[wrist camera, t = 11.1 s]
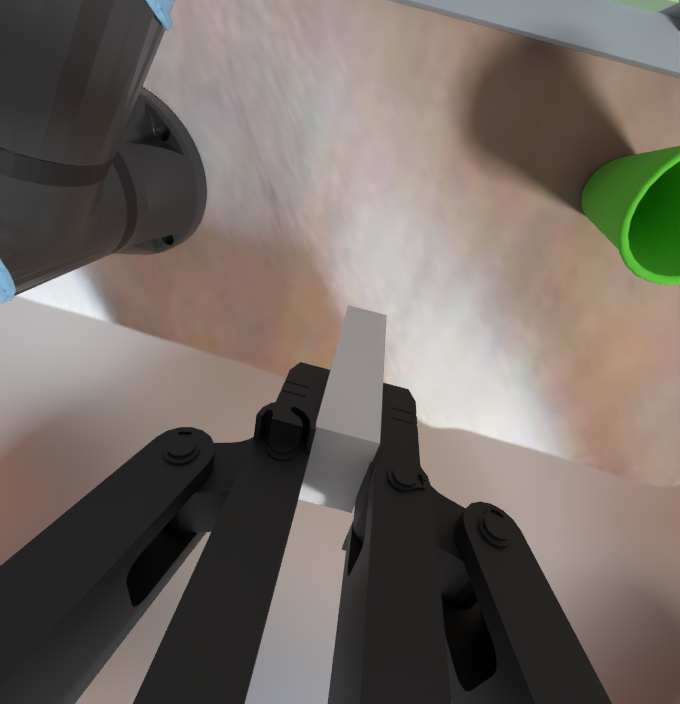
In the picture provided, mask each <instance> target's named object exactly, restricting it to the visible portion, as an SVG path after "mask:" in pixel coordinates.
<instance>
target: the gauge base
mask: <svg viewBox="0 0 680 704" xmlns="http://www.w3.org/2000/svg"><path fill="white" fill-rule="evenodd" d="M391 1H394V2H398V3H402V4H406V5H409V6H413V7H417V8H420V9H424V10H428V11H432V12H435V13H439V14H443V15H447V16H450V17H454V18H458V19H461V20H465V21H469V22H473V23H476V24H480V25H484V26H488V27H491V28H495V29H499V30H502V31H506V32H510V33H514V34H517V35H521V36H525V37H529V38H532V39H536V40H540V41H543V42H547V43H551V44H555V45H558V46H562V47H566V48H570V49H573V50H577V51H581V52H584V53H588V54H592V55H596V56H599V57H603V58H607V59H611V60H614V61H618V62H622V63H625V64H629V65H633V66H637V67H640V68H644V69H648V70H652V71H655V72H659V73H663V74H666V75H670V76H674V77H678V78H680V0H391Z"/></svg>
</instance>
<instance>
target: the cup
mask: <svg viewBox="0 0 680 704" xmlns="http://www.w3.org/2000/svg"><path fill="white" fill-rule="evenodd" d="M581 205H582V210H583V212H584V214H585V215H586V216H587V217H588V218H589V219H590V220H591V221H592V222H593V223H594V225H595V226H596V227H597V228H598V229H599V230H600V231H601V232H602V233H603V234H604V235H605V236H606V237H607V238H608V239H609V240H610V241H611V242H612V243H613V244H614V245H615V246H616V247H617V248H618V249H619V252H620V255H621V257H622V259H623V261H624V263H625V265H626V266H627V267H628V268H629V269H630V270H631V271H632V272H633V273H634V274H635V275H636V276H638V277H640V278H643V279H645V280H647V281H649V282H654V283H659V284H665V285H666V284H680V146H677V147H672V148H667V149H662V150H657V151H652V152H647V153H642V154H637V155H632V156H627V157H621V158H618V159H615V160H612V161H610V162H608V163H606V164H605V165H603V166H602V167H601V168H599V169H598V170H597V171H596V172H595V173H594V174H593V175H592V176H591V177H590V179H589V180H588V182H587V183H586V185H585V187H584V190H583V193H582V198H581Z"/></svg>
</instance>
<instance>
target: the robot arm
mask: <svg viewBox="0 0 680 704" xmlns="http://www.w3.org/2000/svg"><path fill="white" fill-rule="evenodd" d="M173 3H174V0H0V304H2V303H5V302H8V301H11V300H12V298H14V296H15V295H18V294H20V293H22V292H25V291H27V290H29V289H32V288H34V287H36V286H38V285H41V284H43V283H45V282H48V281H50V280H52V279H55V278H57V277H59V276H62V275H64V274H66V273H68V272H71V271H73V270H75V269H78V268H80V267H82V266H85V265H87V264H89V263H91V262H94V261H96V260H98V259H101V258H103V257H105V256H107V255H110V254H112V253H113V254H141V255H148V254H156V253H160V252H164V251H167V250H169V249H171V248H173V247H175V246H177V245H179V244H181V243H183V242H184V241H186V240H187V239H188V238H189V237H190V236H191V235H192V234H193V233H194V232H195V230H196V229H197V227H198V226H199V224H200V222H201V220H202V217H203V214H204V211H205V206H206V197H207V186H206V178H205V172H204V168H203V164H202V161H201V158H200V155H199V152H198V150H197V148H196V145H195V143H194V141H193V139H192V138H191V136H190V134H189V132H188V131H187V129H186V128H185V126H184V125H183V123H182V122H181V121H180V120H179V118H178V117H177V116H176V115H175V114H174V112H173V111H172V110H171V109H170V108H169V107H168V106H167V105H166V104H164V103H163V102H162V101H161V100H160V99H158V98H157V97H156V96H155V95H153V94H152V93H150V92H148V91H147V90H145V89H143V88H142V86H143V83H144V81H145V78H146V76H147V74H148V71H149V69H150V66H151V64H152V61H153V59H154V56H155V54H156V51H157V49H158V46H159V44H160V41H161V39H162V37H163V34H164V32H165V29H166V30H168V31H169V29H170V27H171V22H172V20H171V17H170V13H171V10H172V7H173ZM385 334H386V315H383V314H379V313H375V312H372V311H368V310H364V309H360V308H356V307H353V306H349V305H348V308H347V312H346V316H345V319H344V323H343V327H342V330H341V334H340V338H339V341H338V345H337V349H336V352H335V356H334V359H333V363H332V367H331V370H328V369H324V368H321V367H317V366H313V365H309V364H305V363H302V362H300V363H299V364H297V365H296V366H295V367H293V368H292V369H291V370H290V371H289V373H288V376H287V378H286V380H285V383H284V385H283V387H282V389H281V392H280V394H279V396H278V398H277V401H276V402H274V403H270V404H269V405H266V406H265V407H263V408H262V409H261V410H260V411H259V412H258V414H257V416H256V424H255V432H254V437H253V438H251V439H249V440H245V441H242V442H234V443H213V441H212V438H211V437H210V436H209V435H208V434H207V433H205V432H204V431H202V430H199V429H196V428H192V427H181V428H176V429H172V430H168V431H166V432H164V433H163V434H161V435H159V436H158V437H156V438H155V439H154V440H152V441H151V442H150V443H149V444H148V445H146V446H145V447H144V448H143V449H142V450H141V451H139V452H138V453H137V454H135V455H134V456H133V457H132V458H131V459H129V460H128V461H127V462H126V463H125V464H123V465H122V466H121V467H120V468H119V469H117V470H116V471H115V472H114V473H113V474H111V475H110V476H109V477H108V478H106V479H105V480H104V481H103V482H102V483H100V484H99V485H98V486H97V487H96V488H94V489H93V490H92V491H91V492H89V493H88V494H87V495H86V496H85V497H83V498H82V499H81V500H80V501H79V502H78V503H76V504H75V505H74V506H73V507H71V508H70V509H69V510H68V511H66V512H65V513H64V514H63V515H62V516H60V517H59V518H58V519H57V520H56V521H54V522H53V523H52V524H51V525H50V526H48V527H47V528H46V529H45V530H44V531H42V532H41V533H40V534H39V535H38V536H36V537H35V538H34V539H33V540H31V541H30V542H29V543H28V544H27V545H25V546H24V547H23V548H22V549H20V551H18V552H17V553H16V554H14V555H13V556H12V557H11V558H10V559H8V560H7V561H6V562H5V563H4V564H2V565H1V566H0V704H75V703H76V701H77V700H78V699H79V697H80V696H81V695H82V694H83V692H84V691H85V690H86V688H87V687H88V686H89V684H90V683H91V682H92V680H93V679H94V678H95V677H96V675H97V674H98V673H99V671H100V670H101V669H102V668H103V666H104V665H105V664H106V662H107V661H108V660H109V658H110V657H111V656H112V655H113V653H114V652H115V651H116V649H117V648H118V647H119V645H120V644H121V643H122V642H123V640H124V639H125V638H126V636H127V635H128V634H129V632H130V631H131V630H132V628H133V627H134V626H135V624H136V623H137V622H138V621H139V619H140V618H141V617H142V615H143V614H144V613H145V611H146V610H147V609H148V608H149V606H150V605H151V604H152V602H153V601H154V600H155V598H156V597H157V596H158V595H159V593H160V592H161V591H162V589H163V588H164V587H165V586H166V584H167V583H168V582H169V580H170V579H171V578H172V576H173V575H174V574H175V572H176V571H177V570H178V569H179V567H180V566H181V565H182V563H183V562H184V561H185V559H186V558H187V557H188V556H189V554H190V553H191V552H192V550H193V549H194V548H195V546H196V545H197V544H198V543H199V541H200V540H201V539H202V537H203V536H204V535H205V533H206V532H211V534H210V536H209V539H208V541H207V543H206V545H205V547H204V550H203V552H202V554H201V556H200V558H199V561H198V563H197V565H196V567H195V569H194V572H193V574H192V576H191V578H190V580H189V583H188V585H187V587H186V589H185V591H184V593H183V595H182V598H181V600H180V602H179V605H178V606H177V609H176V611H175V613H174V615H173V618H172V619H171V622H170V624H169V626H168V628H167V630H166V633H165V635H164V637H163V639H162V641H161V643H160V646H159V648H158V650H157V652H156V654H155V657H154V659H153V661H152V663H151V665H150V668H149V670H148V672H147V674H146V677H145V679H144V681H143V683H142V685H141V687H140V689H139V692H138V694H137V696H136V698H135V700H134V702H133V704H245V700H246V696H247V692H248V688H249V685H250V681H251V677H252V673H253V669H254V666H255V661H256V658H257V654H258V650H259V646H260V643H261V639H262V635H263V631H264V628H265V624H266V620H267V616H268V612H269V609H270V604H271V601H272V597H273V593H274V589H275V586H276V582H277V578H278V574H279V570H280V567H281V563H282V559H283V555H284V551H285V548H286V544H287V540H288V536H289V532H290V528H291V524H292V521H293V517H294V513H295V509H296V506H297V501H298V499H300V500H304V501H308V502H312V503H316V504H320V505H324V506H327V507H331V508H336V509H339V510H343V511H346V512H350V513H351V512H352V510H353V508H354V505H355V511H354V520H353V522H352V525H351V527H350V529H349V532H348V534H347V536H346V539H345V541H344V544H343V547H342V550H346V557H345V566H344V573H343V582H342V591H341V598H340V607H339V615H338V623H337V632H336V640H335V649H334V656H333V664H332V673H331V681H330V689H329V698H328V704H612V703H611V701H610V699H609V697H608V695H607V693H606V692H605V690H604V688H603V686H602V684H601V682H600V680H599V678H598V676H597V674H596V673H595V671H594V669H593V667H592V665H591V663H590V661H589V659H588V658H587V655H586V653H585V652H584V650H583V648H582V646H581V644H580V642H579V640H578V639H577V636H576V634H575V633H574V631H573V629H572V627H571V625H570V623H569V621H568V619H567V618H566V616H565V614H564V612H563V610H562V608H561V606H560V604H559V602H558V600H557V598H556V596H555V595H554V593H553V591H552V589H551V587H550V585H549V583H548V581H547V579H546V578H545V576H544V574H543V572H542V570H541V568H540V566H539V564H538V562H537V560H536V559H535V557H534V555H533V553H532V551H531V549H530V547H529V545H528V544H527V541H526V540H525V538H524V536H523V534H522V532H521V530H520V529H519V527H518V526H517V525H516V523H515V522H514V520H513V519H512V518H511V517H509V516H508V515H507V514H506V513H505V512H504V511H503V510H501V509H499V508H498V507H496V506H494V505H492V504H489V503H484V502H477V503H471V504H470V505H469V506H468V507H467V508H466V509H465V508H464V507H462V506H460V505H458V504H457V503H455V502H453V501H451V500H449V499H448V498H446V497H444V496H443V495H441V494H440V493H438V492H437V491H436V490H435V489H434V488H433V487H432V486H431V485H430V482H429V479H428V476H427V475H426V474H425V472H424V471H423V470H422V468H421V466H420V457H419V443H418V430H417V416H416V402H415V400H414V398H413V397H412V395H411V393H410V391H409V390H408V389H405V388H401V387H397V386H393V385H390V384H386V383H383V374H384V354H385Z"/></svg>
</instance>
